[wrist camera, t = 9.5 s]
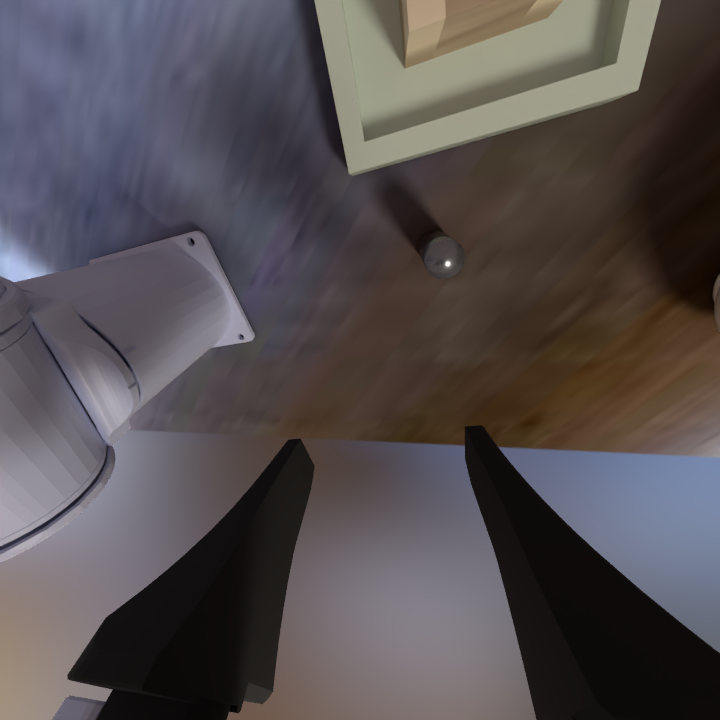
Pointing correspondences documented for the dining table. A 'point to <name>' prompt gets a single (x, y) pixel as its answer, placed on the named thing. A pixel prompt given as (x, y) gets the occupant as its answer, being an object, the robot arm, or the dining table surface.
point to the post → (441, 254)
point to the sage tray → (474, 76)
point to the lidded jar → (717, 301)
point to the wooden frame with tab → (462, 23)
